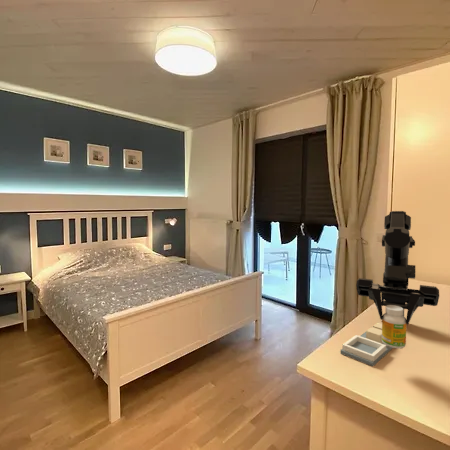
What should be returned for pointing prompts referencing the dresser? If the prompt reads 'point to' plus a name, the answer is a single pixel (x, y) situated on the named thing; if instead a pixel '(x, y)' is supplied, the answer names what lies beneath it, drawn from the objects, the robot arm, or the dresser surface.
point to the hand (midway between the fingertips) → (394, 321)
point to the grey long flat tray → (367, 346)
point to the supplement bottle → (394, 327)
